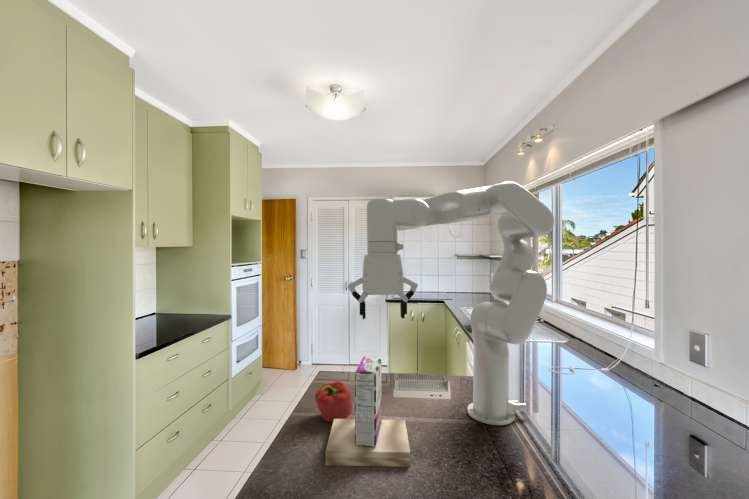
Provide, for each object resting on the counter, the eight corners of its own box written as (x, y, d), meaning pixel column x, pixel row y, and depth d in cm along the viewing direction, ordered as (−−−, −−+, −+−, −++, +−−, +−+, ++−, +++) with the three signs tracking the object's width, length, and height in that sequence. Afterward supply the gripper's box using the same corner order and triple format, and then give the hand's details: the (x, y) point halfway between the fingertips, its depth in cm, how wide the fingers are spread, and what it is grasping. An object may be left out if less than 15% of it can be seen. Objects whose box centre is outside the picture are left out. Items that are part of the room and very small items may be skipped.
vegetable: (335, 433, 84) (336, 393, 84) (304, 422, 90) (305, 384, 90) (360, 416, 94) (360, 379, 94) (331, 406, 99) (331, 372, 99)
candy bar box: (361, 421, 85) (362, 355, 85) (381, 422, 84) (382, 356, 84) (353, 446, 74) (354, 370, 74) (376, 448, 73) (377, 372, 73)
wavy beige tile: (404, 431, 86) (404, 419, 86) (410, 466, 72) (410, 452, 72) (333, 430, 86) (334, 418, 86) (325, 465, 72) (325, 450, 72)
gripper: (414, 248, 88) (415, 314, 88) (348, 249, 88) (349, 315, 88) (419, 248, 81) (420, 320, 81) (346, 249, 80) (347, 321, 80)
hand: (383, 317), depth 84 cm, fingers open, 9 cm apart
